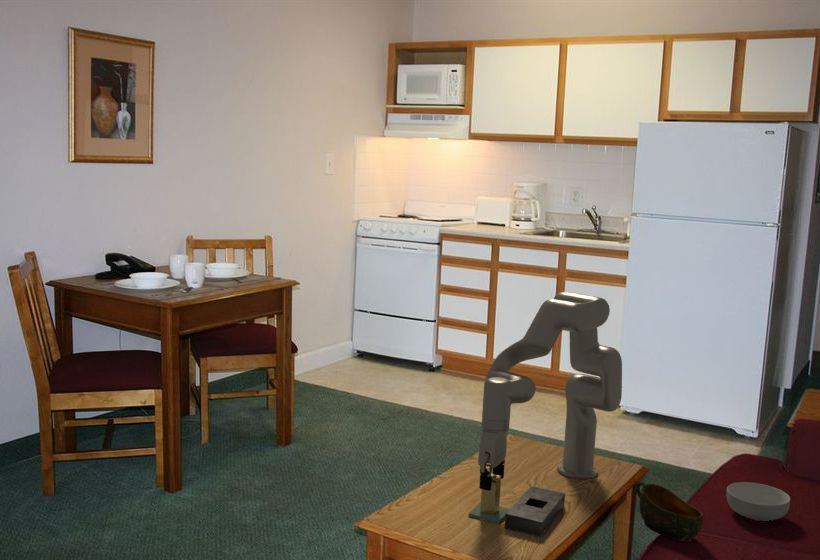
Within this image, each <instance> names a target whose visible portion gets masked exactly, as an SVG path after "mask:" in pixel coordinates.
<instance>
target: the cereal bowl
mask: <svg viewBox="0 0 820 560" xmlns="http://www.w3.org/2000/svg"><path fill="white" fill-rule="evenodd" d="M726 500H727V503H728V505H729V507H730V508H731V509H732V510H733V511H734V512H736V513H737V515H738V514H739V515H740V516H742V517H743V516H745V517H747V518H751V519H754V520H762V521H769V520H771V521H775V520H779V519H781V518H783V517H784V516H785V515H787V513H788V511H789V509H790V506H791V496H789V494H788V493H786V492H785V491H784V490H781V489H779V488H776V487H773V486H771V485H767V484H763V483H758V482H749V481H747V482H746V481H742V482H741V481H740V482H733V483H731V484H729V485H728V486H727V487H726ZM745 517H744V518H745ZM747 518H746V519H747ZM769 522H770V521H769Z"/></svg>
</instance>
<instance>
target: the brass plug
mask: <svg viewBox="0 0 820 560" xmlns="http://www.w3.org/2000/svg"><path fill="white" fill-rule="evenodd" d="M491 476H492V484H491V490H490V491H488V490H483V489H481V495H480V502H481V507H480V512H482V513H486V514H490V515H495V514H496V513H497V512H498V511H499V506H500V499H501V484H502V479H501V476H500V475H496V474H492V473H491Z"/></svg>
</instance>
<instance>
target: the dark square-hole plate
mask: <svg viewBox="0 0 820 560" xmlns="http://www.w3.org/2000/svg"><path fill="white" fill-rule="evenodd" d="M565 500H566V493H564V492H559V491H555V490H550V489H547V488H542V487H538V486H534V485H531V486H530V487H529V488H528V489H527V490H526V491H525V492H524V493H523V494H522V496H520V497H519V498H518V500H517V501H516V502H515V503H514V504H513V505H512V506H510V508H508V509H509V510H508V511H507V512H506V513H505V518H504V529H509V530H513V531H516V532H521V533H525V534H528V535H533V536H535V537H542V536H543V535H544V533H545V532H546V531H547V530H548V529H549V527H550V525H552V523H553V522H554V521H555V520H556V518H557V516H558V515H559V514H560V513H561V511H562V510H563V509H564V508H565V502H566V501H565Z"/></svg>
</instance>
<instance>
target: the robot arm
mask: <svg viewBox="0 0 820 560" xmlns="http://www.w3.org/2000/svg"><path fill="white" fill-rule="evenodd" d="M610 310H611V308H610V305H609V303H608V301H607V300H606V299H604V298H603V297H600V296H594V295H588V294H583V293H577V292H571V291H561V292H557V293H556V294H555V296H554V297H553V299H552V298H551V299H547V300H545V301H544V302H543V303H542V304H541V305H540V307H539V309H538V311H537V312H536V315H535V316H534V318H533V320H532V322H531V323H530V325H529V327H528V328H527V331H526V333H525V335H524V336H523V338H521V339H519V340H518V341H516V342H514V343H513V344H511V345H509V346H508V347H506V348H505V349H504V350H503V351H500V353H499V354H498V355H497V356H496V357H495V359H494V360H493V363H492V364H491V366H490V368H489V370H488V372H487V374H486V376H485V381H484V385H483V394H482V395H483V398H482V412H481V415H482V416H481V426H480V427H481V430H482V431H481V435H480V440H479V449H478V457H477V458H478V459H477V464H478V466H479V468H480V469H479V485H478V486H479V487H478V488H479V489H480V490H482V489H483V490H488V491H490V490H491V484H492V476H491V474H496V475H500V476H501V480H503V479H504V478H505V477H504V476H505V463H506V456H507V448H508V446H507V445H508V432H509V430H510V424H511V423H510V420H511V410H512V409H511V405H513V404H515V405H516V404H525V403H528V402H529V401H531V400H532V399H533V397H534V396H535V394H536V389H537V387H536V383H535V382H534V380H533V379H532V378H530V377H528V376H527V375H523V374H519V373H516V372H512V371H511V372H510V370H511V369H512V368H514V367H515V366H517V364H520V363H522V362H525V361H530V360H534V359H538V358H543V357H545V356H547V355H550V354H551V351H552V349H553V347H554V346H555V343H556V342H557V339H558V338H559V336H560V334H561V332H562V331H565V332H569V363H570V365H571V368H572V369H573V370H575V371H576V372H579V373H575V374H572V375H570V376H569V377H568V378H567V380H566V382H565V386H564V387H565V388H564V392H565V401H566V414H565V415H566V417H565V427H564V428H565V429H564V440H563V441H564V442H563V452H562V453H563V454H562V462H560V463H558V464H557V468H556V469H557V471H558V473H559V474H560V475H562V476H563V475H564V476H565V477H568V478H573V479H579V480H582V479H584V480H586V479H587V480H588V479H593V478H595V477H597V476H598V473H599V472H598V471H599V470H598V469H597V468H596V467H595V466H594V461H595V460H594V458H595V448H596V447H595V446H596V435H597V427H598V425H597V424H598V420H597V419H598V418H597V415H596V411H595V410H599V411H603V412H610V413H611V412H615V411H616V410H618V408H619V407H620V405H621V401H622V394H623V361H622V360H623V359H622V356H621V354H620V352H619V351H618V349H616V348H614V347H611V346H607V345H602V344H600V343H599V336H598V334H599V333H598V328H600V327H601V326H603V325H604V324H605V323H606V322H607V320H608V318H609V316H610V312H611V311H610Z"/></svg>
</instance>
